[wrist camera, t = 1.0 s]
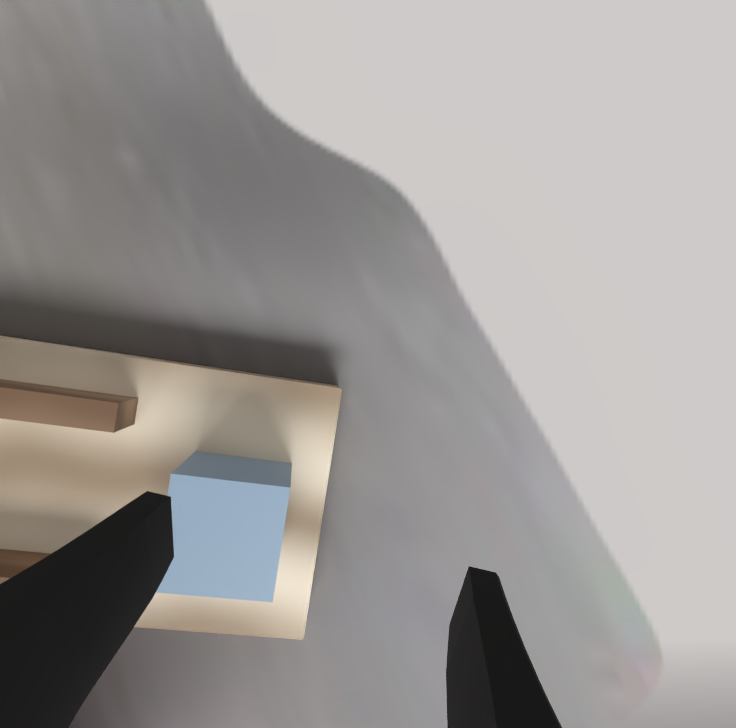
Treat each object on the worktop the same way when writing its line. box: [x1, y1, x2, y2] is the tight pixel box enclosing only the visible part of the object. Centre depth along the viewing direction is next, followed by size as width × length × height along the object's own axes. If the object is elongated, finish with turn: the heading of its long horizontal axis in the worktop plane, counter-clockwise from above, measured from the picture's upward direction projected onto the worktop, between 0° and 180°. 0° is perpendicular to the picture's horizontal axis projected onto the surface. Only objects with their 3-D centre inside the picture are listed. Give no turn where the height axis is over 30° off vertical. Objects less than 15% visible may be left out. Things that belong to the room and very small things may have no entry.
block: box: [156, 451, 292, 602], centre depth 21 cm, size 4×4×4 cm
